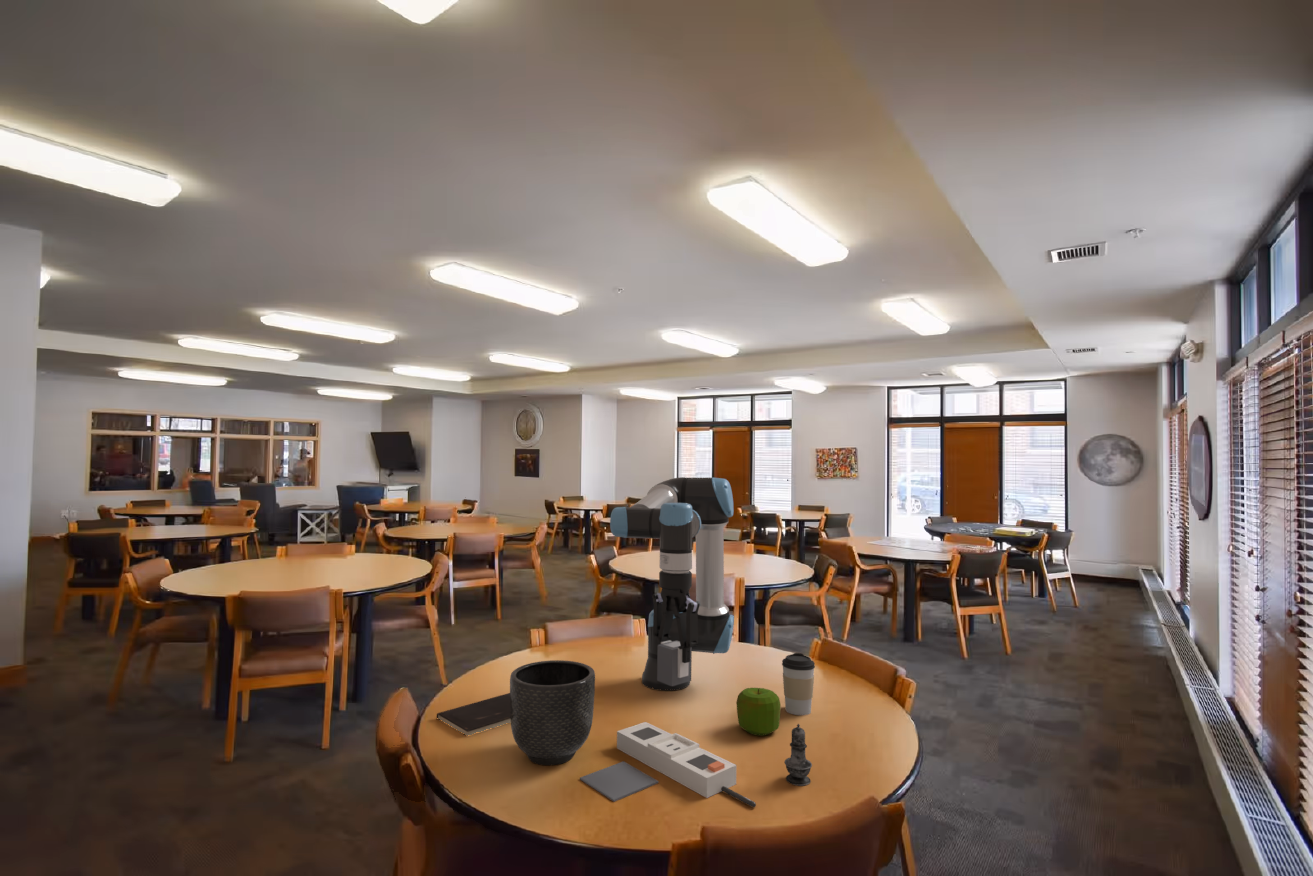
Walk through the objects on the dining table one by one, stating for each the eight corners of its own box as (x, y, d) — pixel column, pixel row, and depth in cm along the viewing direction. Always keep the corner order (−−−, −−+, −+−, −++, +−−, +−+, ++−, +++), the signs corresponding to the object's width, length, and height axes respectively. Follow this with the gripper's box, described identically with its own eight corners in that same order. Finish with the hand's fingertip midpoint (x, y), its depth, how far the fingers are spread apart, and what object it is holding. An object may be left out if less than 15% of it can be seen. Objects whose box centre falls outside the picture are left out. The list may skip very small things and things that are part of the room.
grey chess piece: (781, 773, 141) (781, 718, 142) (807, 773, 142) (807, 718, 143) (788, 787, 136) (789, 729, 136) (815, 786, 136) (816, 729, 137)
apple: (782, 725, 168) (783, 683, 169) (776, 742, 158) (776, 697, 158) (741, 719, 172) (741, 678, 172) (732, 735, 162) (732, 691, 162)
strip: (616, 748, 153) (617, 727, 153) (645, 738, 159) (645, 718, 159) (740, 816, 124) (740, 791, 124) (769, 801, 130) (769, 777, 130)
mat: (579, 779, 138) (579, 777, 138) (623, 763, 146) (623, 761, 146) (613, 802, 129) (613, 799, 129) (658, 783, 136) (658, 781, 137)
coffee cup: (815, 718, 173) (815, 662, 174) (781, 715, 175) (781, 659, 176) (814, 706, 182) (814, 652, 183) (781, 703, 184) (782, 650, 185)
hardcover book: (543, 715, 174) (543, 706, 174) (467, 740, 158) (467, 730, 158) (510, 699, 185) (511, 691, 186) (436, 721, 169) (436, 712, 169)
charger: (657, 680, 146) (657, 644, 146) (676, 675, 150) (676, 639, 150) (672, 686, 142) (672, 649, 142) (691, 680, 146) (691, 644, 146)
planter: (555, 784, 135) (557, 693, 136) (489, 760, 146) (491, 676, 147) (610, 750, 152) (611, 669, 153) (547, 731, 162) (549, 655, 163)
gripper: (637, 567, 151) (636, 666, 150) (691, 577, 138) (690, 687, 137) (661, 564, 156) (660, 660, 155) (715, 574, 142) (714, 680, 141)
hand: (674, 673), depth 146 cm, fingers closed on charger, 5 cm apart
